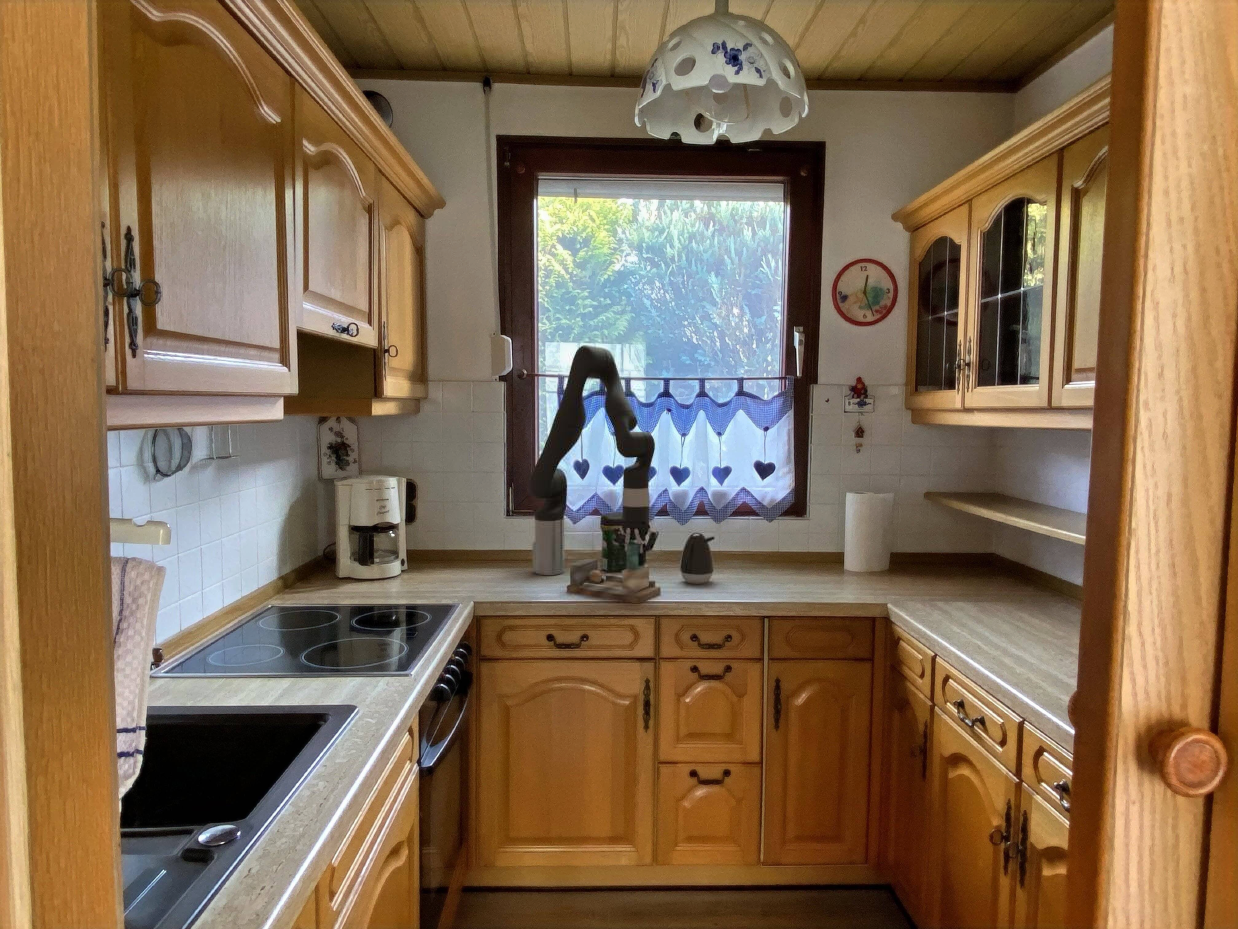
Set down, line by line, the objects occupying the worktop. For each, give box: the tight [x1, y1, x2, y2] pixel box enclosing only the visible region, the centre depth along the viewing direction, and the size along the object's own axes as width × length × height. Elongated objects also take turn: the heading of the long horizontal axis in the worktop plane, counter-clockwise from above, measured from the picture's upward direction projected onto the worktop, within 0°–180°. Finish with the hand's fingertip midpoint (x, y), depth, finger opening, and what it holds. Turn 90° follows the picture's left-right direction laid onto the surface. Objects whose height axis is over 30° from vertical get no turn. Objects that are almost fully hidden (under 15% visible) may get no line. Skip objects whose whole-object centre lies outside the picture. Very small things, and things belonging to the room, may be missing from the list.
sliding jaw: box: [621, 540, 650, 592], centre depth 216 cm, size 3×10×13 cm, turn 149°
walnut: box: [588, 569, 603, 584], centre depth 223 cm, size 4×4×4 cm
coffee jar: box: [599, 512, 627, 573], centre depth 250 cm, size 10×8×19 cm
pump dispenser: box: [679, 532, 715, 585], centre depth 233 cm, size 10×10×15 cm
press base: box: [566, 557, 662, 605], centre depth 220 cm, size 24×13×8 cm, turn 59°
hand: (635, 564), depth 216 cm, fingers closed on sliding jaw, 3 cm apart
